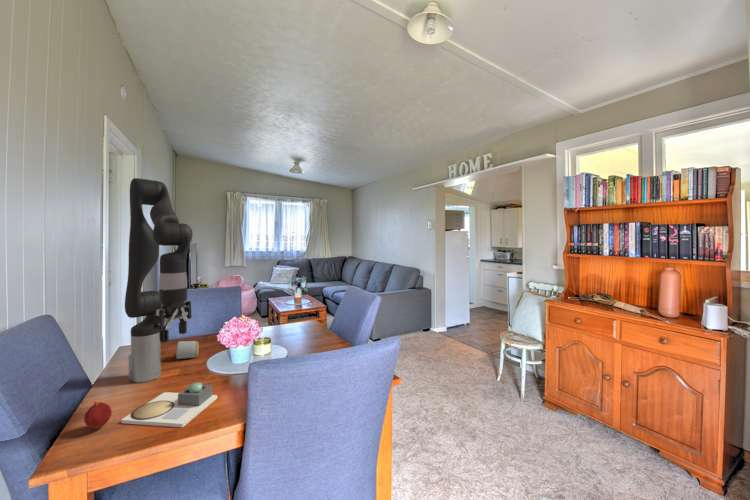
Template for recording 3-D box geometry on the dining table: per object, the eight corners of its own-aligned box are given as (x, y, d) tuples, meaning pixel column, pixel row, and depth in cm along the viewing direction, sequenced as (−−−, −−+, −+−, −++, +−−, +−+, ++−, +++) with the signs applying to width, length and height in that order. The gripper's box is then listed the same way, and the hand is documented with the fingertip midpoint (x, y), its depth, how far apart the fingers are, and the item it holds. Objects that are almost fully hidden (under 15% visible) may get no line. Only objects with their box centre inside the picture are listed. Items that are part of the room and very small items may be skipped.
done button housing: (178, 405, 102) (177, 394, 101) (192, 394, 108) (192, 384, 108) (198, 406, 101) (198, 395, 101) (212, 395, 108) (212, 385, 108)
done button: (186, 396, 103) (186, 387, 103) (193, 390, 107) (193, 382, 107) (197, 396, 103) (197, 388, 102) (204, 391, 106) (204, 382, 106)
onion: (95, 422, 93) (95, 395, 93) (116, 422, 94) (116, 395, 93) (78, 435, 87) (78, 406, 87) (101, 434, 88) (100, 405, 88)
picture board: (119, 423, 93) (119, 419, 93) (163, 394, 110) (163, 391, 110) (182, 427, 91) (182, 423, 91) (217, 398, 108) (217, 394, 108)
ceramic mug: (197, 359, 143) (197, 342, 143) (176, 361, 139) (175, 344, 139) (199, 352, 152) (199, 335, 152) (179, 354, 149) (179, 337, 149)
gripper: (177, 283, 108) (177, 330, 109) (144, 289, 94) (145, 344, 95) (198, 283, 108) (198, 331, 109) (169, 290, 94) (169, 345, 94)
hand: (173, 337), depth 102 cm, fingers open, 8 cm apart
